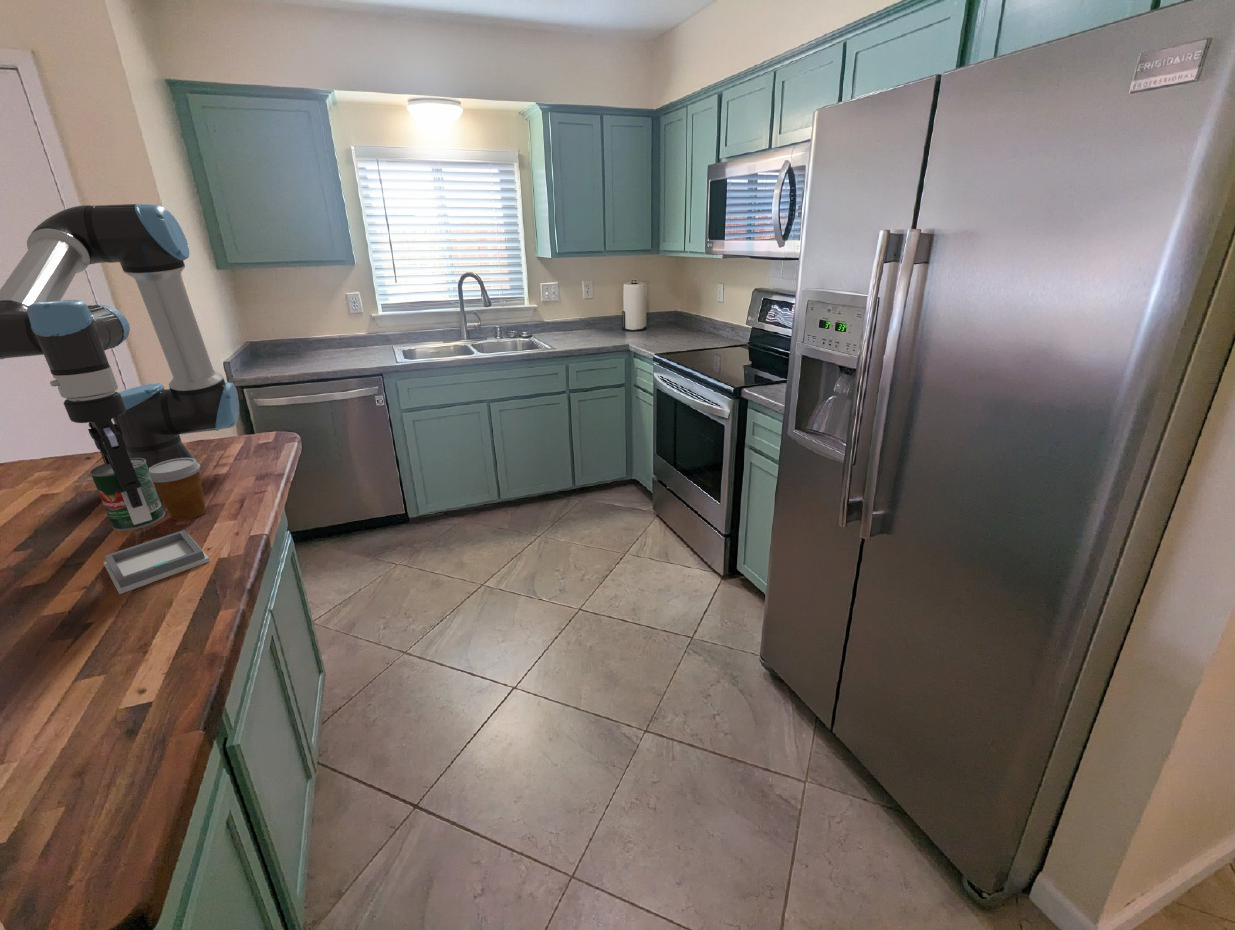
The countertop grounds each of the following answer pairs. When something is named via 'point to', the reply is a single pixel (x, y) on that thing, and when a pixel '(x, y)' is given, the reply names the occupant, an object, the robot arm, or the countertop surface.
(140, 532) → the countertop surface
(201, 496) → the disposable coffee cup
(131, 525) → the canned tomato
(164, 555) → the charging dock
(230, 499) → the countertop surface
